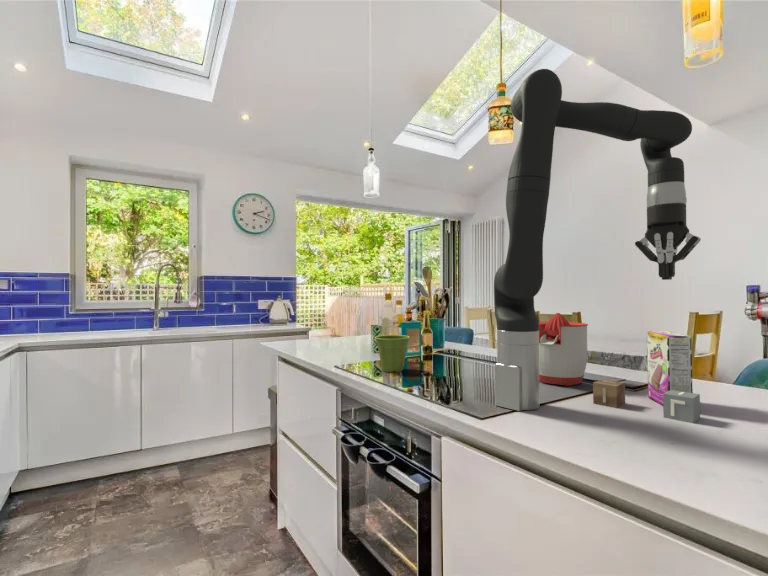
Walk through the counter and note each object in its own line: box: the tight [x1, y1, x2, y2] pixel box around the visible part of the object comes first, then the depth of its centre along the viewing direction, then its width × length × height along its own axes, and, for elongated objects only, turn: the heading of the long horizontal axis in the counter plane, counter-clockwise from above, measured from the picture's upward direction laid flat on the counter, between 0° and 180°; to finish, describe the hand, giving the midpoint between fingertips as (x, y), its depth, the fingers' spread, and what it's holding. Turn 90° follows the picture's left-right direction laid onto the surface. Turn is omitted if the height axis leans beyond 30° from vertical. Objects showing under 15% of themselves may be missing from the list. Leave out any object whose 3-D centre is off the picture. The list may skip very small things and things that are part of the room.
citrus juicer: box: [539, 312, 589, 387], centre depth 118 cm, size 16×17×20 cm
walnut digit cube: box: [592, 379, 626, 409], centre depth 94 cm, size 5×5×5 cm
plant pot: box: [374, 334, 411, 373], centre depth 137 cm, size 12×12×11 cm
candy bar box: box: [646, 330, 694, 406], centre depth 94 cm, size 11×5×16 cm, turn 168°
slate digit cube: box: [662, 390, 701, 424], centre depth 84 cm, size 5×5×5 cm
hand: (666, 279), depth 94 cm, fingers closed
